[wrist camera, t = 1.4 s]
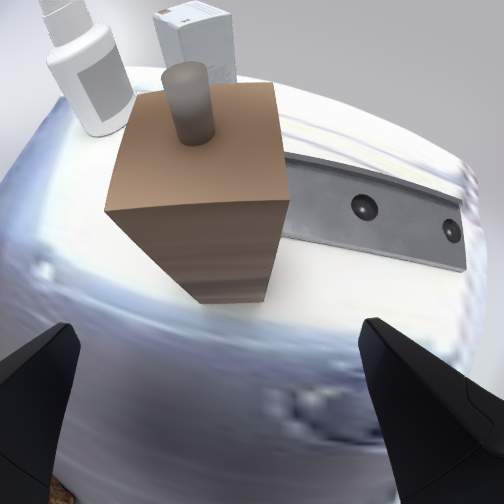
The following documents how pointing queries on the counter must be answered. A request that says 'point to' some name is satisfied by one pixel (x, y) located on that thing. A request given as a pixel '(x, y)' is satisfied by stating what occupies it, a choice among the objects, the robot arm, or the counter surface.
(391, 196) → the flange strip
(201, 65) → the post
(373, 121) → the counter surface
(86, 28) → the spray bottle
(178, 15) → the skincare box
